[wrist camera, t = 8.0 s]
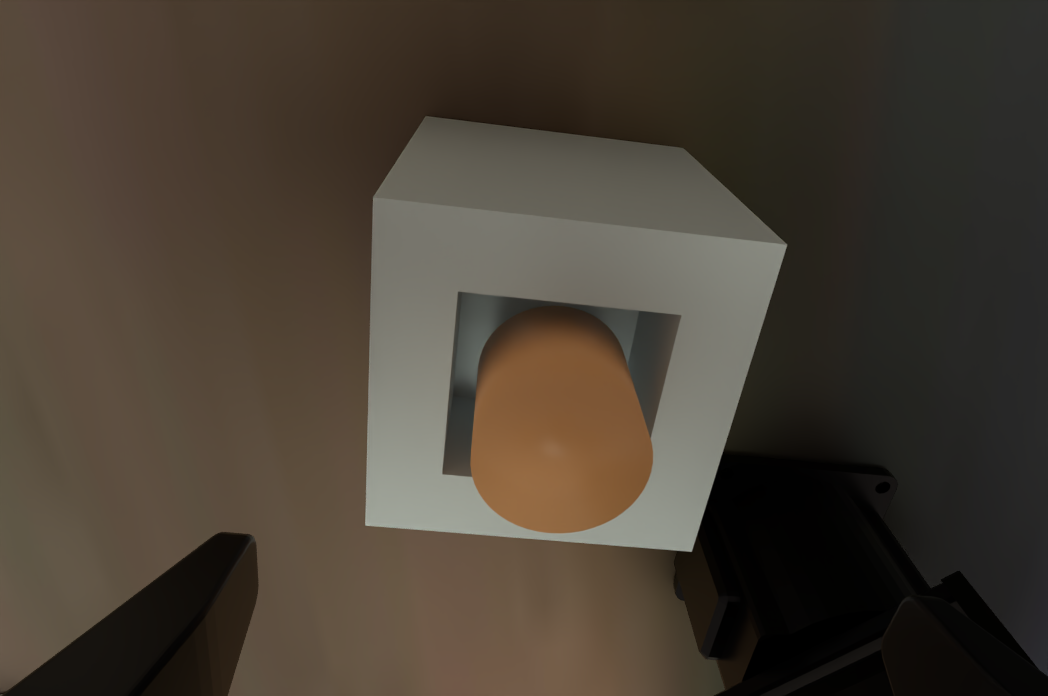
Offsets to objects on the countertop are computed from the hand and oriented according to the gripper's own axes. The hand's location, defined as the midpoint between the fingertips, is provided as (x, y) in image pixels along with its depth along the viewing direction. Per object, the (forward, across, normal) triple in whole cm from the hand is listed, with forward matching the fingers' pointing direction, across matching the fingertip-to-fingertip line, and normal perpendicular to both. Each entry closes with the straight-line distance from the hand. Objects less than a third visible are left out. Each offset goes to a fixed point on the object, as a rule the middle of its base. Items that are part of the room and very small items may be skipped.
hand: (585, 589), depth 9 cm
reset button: (+6, 0, 0) cm, 6 cm away
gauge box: (+13, 0, 0) cm, 13 cm away
